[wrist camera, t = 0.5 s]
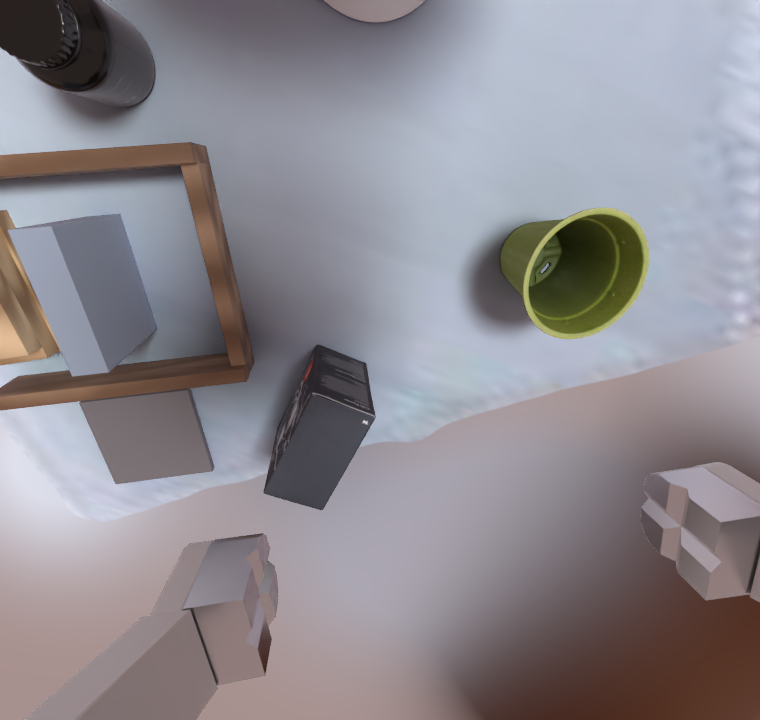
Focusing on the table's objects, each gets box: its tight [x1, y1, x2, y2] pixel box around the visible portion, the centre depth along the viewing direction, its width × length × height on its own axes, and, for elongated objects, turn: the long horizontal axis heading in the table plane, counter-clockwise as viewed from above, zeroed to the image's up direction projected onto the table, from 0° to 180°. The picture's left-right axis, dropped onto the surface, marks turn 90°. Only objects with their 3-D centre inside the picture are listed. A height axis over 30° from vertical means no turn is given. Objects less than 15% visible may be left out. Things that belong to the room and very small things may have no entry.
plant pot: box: [500, 208, 649, 339], centre depth 41 cm, size 12×12×11 cm
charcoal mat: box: [79, 388, 214, 484], centre depth 49 cm, size 12×12×1 cm
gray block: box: [8, 214, 157, 377], centre depth 37 cm, size 12×3×11 cm, turn 4°
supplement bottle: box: [0, 0, 155, 107], centre depth 29 cm, size 7×7×12 cm
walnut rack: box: [0, 142, 254, 410], centre depth 39 cm, size 22×26×5 cm
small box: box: [264, 345, 376, 510], centre depth 45 cm, size 13×7×12 cm, turn 153°
